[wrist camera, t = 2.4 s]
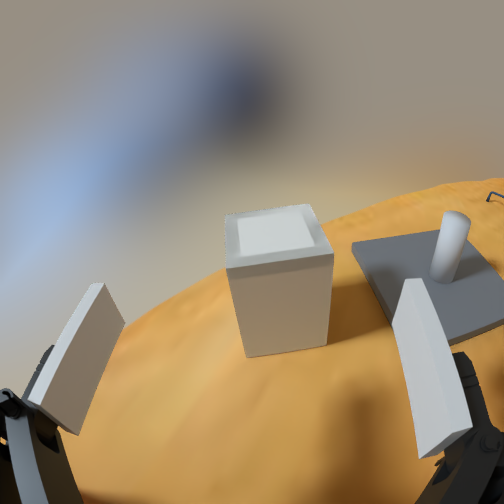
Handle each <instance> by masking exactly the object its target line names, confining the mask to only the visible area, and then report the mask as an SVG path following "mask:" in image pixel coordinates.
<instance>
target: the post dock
mask: <svg viewBox="0 0 504 504" xmlns="http://www.w3.org/2000/svg"><path fill="white" fill-rule="evenodd" d="M470 225H471V221H470V219H469V218H468V217H467V216H466V215H464V214H462V213H460V212H457V211H446V212H445V213H444V216H443V220H442V224H441V229H440V230H434V231H427V232H421V233H414V234H407V235H401V236H394V237H387V238H380V239H374V240H367V241H360V242H353V243H352V253H353V254H354V256H355V258H356V260H357V262H358V263H359V265H360V267H361V269H362V271H363V273H364V274H365V276H366V278H367V280H368V282H369V284H370V286H371V287H372V289H373V291H374V293H375V295H376V297H377V299H378V301H379V303H380V305H381V307H382V309H383V311H384V313H385V315H386V317H387V319H388V321H389V323H390V325H391V327H392V321H393V318H394V315H395V312H396V309H397V306H398V302H399V299H400V296H401V292H402V289H403V285H404V282H405V279H414V278H422V280H423V283H424V285H425V287H426V289H427V292H428V294H429V296H430V299H431V301H432V303H433V306H434V308H435V311H436V313H437V315H438V318H439V321H440V323H441V326H442V328H443V331H444V334H445V336H446V339H447V342H448V344H449V346H451V345H454V344H456V343H459V342H462V341H464V340H467V339H469V338H472V337H474V336H477V335H479V334H482V333H484V332H487V331H489V330H491V329H493V328H496V327H498V326H500V325H502V324H504V281H503V279H502V278H501V277H500V276H499V275H498V273H497V272H496V271H495V270H494V269H493V268H492V266H491V265H490V264H489V263H488V262H487V261H486V260H485V258H484V257H483V256H482V255H481V254H480V253H479V252H478V251H477V250H476V248H475V247H474V246H473V245H472V244H471V243H470V242H469V241H468V240H467V236H468V232H469V229H470ZM392 329H393V327H392ZM393 331H394V330H393Z"/></svg>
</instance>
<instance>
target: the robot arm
mask: <svg viewBox="0 0 504 504" xmlns="http://www.w3.org/2000/svg"><path fill="white" fill-rule="evenodd" d="M124 324H125V322H124V320H123V318H122V316H121V314H120V312H119V311H118V309H117V307H116V305H115V303H114V301H113V299H112V297H111V295H110V293H109V291H108V289H107V287H106V285H105V283H92V284H91V286H90V287H89V289H88V291H87V292H86V294H85V295H84V297H83V299H82V300H81V302H80V303H79V305H78V306H77V308H76V310H75V311H74V313H73V315H72V316H71V318H70V320H69V322H68V323H67V325H66V327H65V328H64V330H63V332H62V334H61V336H60V337H59V339H58V341H57V343H56V344H55V345H52V346H51V347H50V348H49V349H48V350H47V351H46V352H45V353H44V355H43V357H42V359H41V360H40V364H39V365H38V366H37V368H36V371H35V372H34V374H33V376H32V378H31V380H30V382H29V384H28V386H27V388H26V390H25V392H24V394H23V396H22V398H21V399H20V398H18V397H17V396H16V395H15V394H14V393H13V392H12V391H11V390H10V389H7V388H4V389H2V390H0V437H2V438H3V439H5V440H6V444H5V445H4V444H2V443H1V442H0V504H84V503H83V500H82V498H81V495H80V493H79V490H78V488H77V485H76V482H75V480H74V477H73V474H72V471H71V468H70V465H69V462H68V459H67V456H66V453H65V449H64V446H63V443H62V439H61V435H60V433H59V431H58V430H57V427H58V426H60V427H61V428H62V429H64V430H65V431H67V432H69V433H72V434H75V435H77V436H79V433H80V431H81V428H82V425H83V422H84V420H85V417H86V414H87V412H88V409H89V407H90V404H91V401H92V399H93V396H94V394H95V391H96V389H97V386H98V384H99V382H100V379H101V377H102V374H103V372H104V370H105V367H106V365H107V363H108V360H109V358H110V356H111V353H112V351H113V349H114V347H115V344H116V342H117V340H118V338H119V336H120V333H121V331H122V329H123V327H124ZM392 327H393V330H394V334H395V338H396V342H397V346H398V350H399V354H400V358H401V362H402V366H403V371H404V375H405V380H406V384H407V389H408V394H409V399H410V405H411V410H412V416H413V421H414V427H415V434H416V440H417V447H418V455H419V459H422V458H426V457H430V456H435V455H438V454H439V453H440V452H442V451H443V450H444V453H445V456H444V457H443V458H441V459H440V460H438V461H437V462H436V464H435V466H438V465H439V464H440V465H439V467H438V468H437V470H436V472H435V473H434V475H433V477H432V478H431V480H430V481H429V483H428V485H427V486H426V488H425V489H424V491H423V492H422V494H421V495H420V497H419V498H418V500H417V501H416V502H415V504H504V432H500V430H499V429H497V428H496V427H494V426H493V425H492V423H491V421H490V419H489V415H488V412H487V408H486V405H485V401H484V398H483V394H482V391H481V388H480V386H479V382H478V379H477V376H476V373H475V370H474V367H473V364H472V361H471V360H470V359H469V358H468V356H467V355H466V354H465V353H464V352H458V353H453V354H452V353H451V350H450V347H449V344H448V342H447V339H446V336H445V334H444V331H443V328H442V326H441V323H440V321H439V318H438V315H437V313H436V311H435V308H434V306H433V303H432V301H431V299H430V296H429V294H428V292H427V289H426V287H425V285H424V283H423V280H422V278H414V279H405V282H404V285H403V289H402V292H401V296H400V299H399V302H398V306H397V309H396V312H395V315H394V318H393V321H392Z"/></svg>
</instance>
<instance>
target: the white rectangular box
mask: <svg viewBox="0 0 504 504" xmlns="http://www.w3.org/2000/svg"><path fill="white" fill-rule="evenodd" d="M225 248H226V250H225V251H226V253H225V254H226V272H227V276H228V281H229V285H230V290H231V294H232V299H233V303H234V308H235V312H236V316H237V321H238V325H239V329H240V333H241V338H242V342H243V346H244V350H245V355H246V358H249V357H257V356H264V355H271V354H278V353H284V352H291V351H297V350H303V349H308V348H314V347H319V346H325V345H326V344H327V335H328V326H329V316H330V305H331V293H332V280H333V265H334V251H333V249H332V247H331V245H330V243H329V241H328V239H327V237H326V235H325V233H324V231H323V229H322V228H321V226H320V224H319V222H318V220H317V218H316V216H315V214H314V212H313V210H312V208H311V206H310V205H309V204H301V205H293V206H285V207H278V208H270V209H263V210H256V211H249V212H242V213H235V214H228V215H225Z"/></svg>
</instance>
